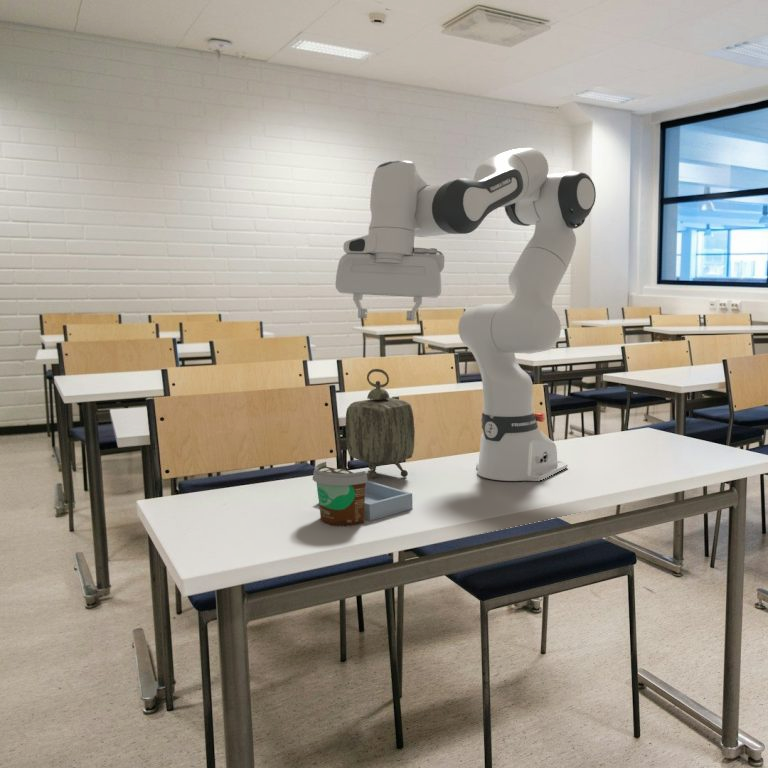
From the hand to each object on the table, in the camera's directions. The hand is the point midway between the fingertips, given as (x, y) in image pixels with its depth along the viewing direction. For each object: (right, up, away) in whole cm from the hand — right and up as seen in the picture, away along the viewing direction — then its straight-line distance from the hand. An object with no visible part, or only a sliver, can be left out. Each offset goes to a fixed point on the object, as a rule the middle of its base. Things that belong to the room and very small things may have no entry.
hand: (386, 319), depth 133 cm
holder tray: (-4, -37, +5) cm, 37 cm away
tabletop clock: (-1, -34, +28) cm, 44 cm away
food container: (-10, -38, -4) cm, 40 cm away
